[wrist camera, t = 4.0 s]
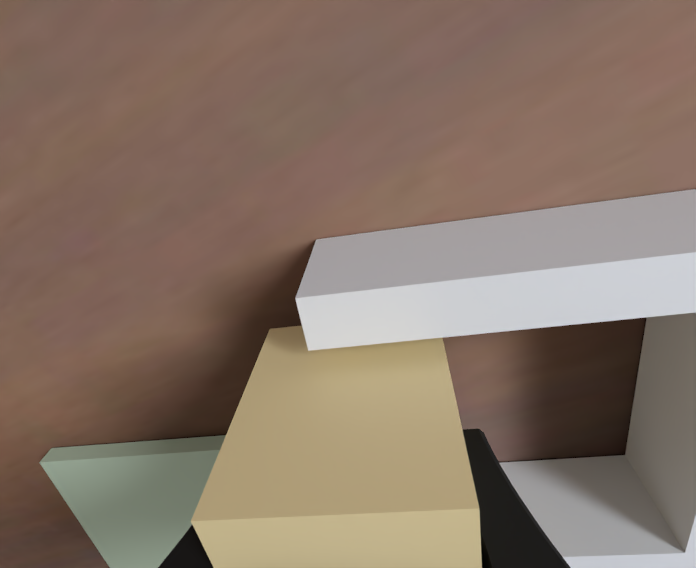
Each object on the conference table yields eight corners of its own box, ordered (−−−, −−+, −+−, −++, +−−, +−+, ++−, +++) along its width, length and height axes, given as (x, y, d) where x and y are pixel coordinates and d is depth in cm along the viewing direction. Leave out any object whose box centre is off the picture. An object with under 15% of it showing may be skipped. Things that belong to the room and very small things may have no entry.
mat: (353, 593, 18) (353, 610, 17) (147, 598, 19) (140, 613, 19) (308, 428, 14) (305, 443, 13) (51, 448, 15) (39, 462, 15)
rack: (661, 479, 14) (728, 580, 11) (370, 495, 15) (367, 589, 12) (725, 185, 10) (855, 233, 7) (316, 239, 11) (295, 297, 8)
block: (451, 488, 13) (488, 716, 8) (317, 495, 13) (284, 713, 9) (436, 311, 10) (479, 508, 6) (269, 328, 11) (190, 521, 6)
